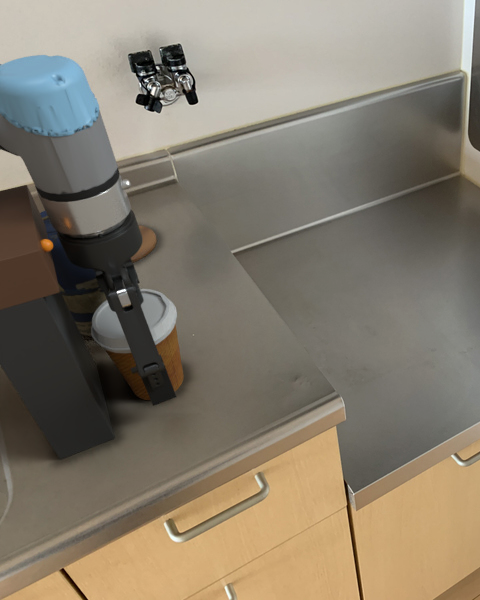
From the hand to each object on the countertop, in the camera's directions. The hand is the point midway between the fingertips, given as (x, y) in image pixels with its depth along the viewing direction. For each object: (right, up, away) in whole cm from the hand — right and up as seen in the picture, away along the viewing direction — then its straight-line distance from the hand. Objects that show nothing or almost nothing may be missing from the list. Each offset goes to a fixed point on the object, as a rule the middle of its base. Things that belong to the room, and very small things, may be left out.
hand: (151, 362), depth 76 cm
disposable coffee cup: (0, -3, +3) cm, 4 cm away
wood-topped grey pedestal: (-7, -5, -1) cm, 9 cm away
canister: (-11, +5, +12) cm, 17 cm away
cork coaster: (-15, +17, +25) cm, 33 cm away
